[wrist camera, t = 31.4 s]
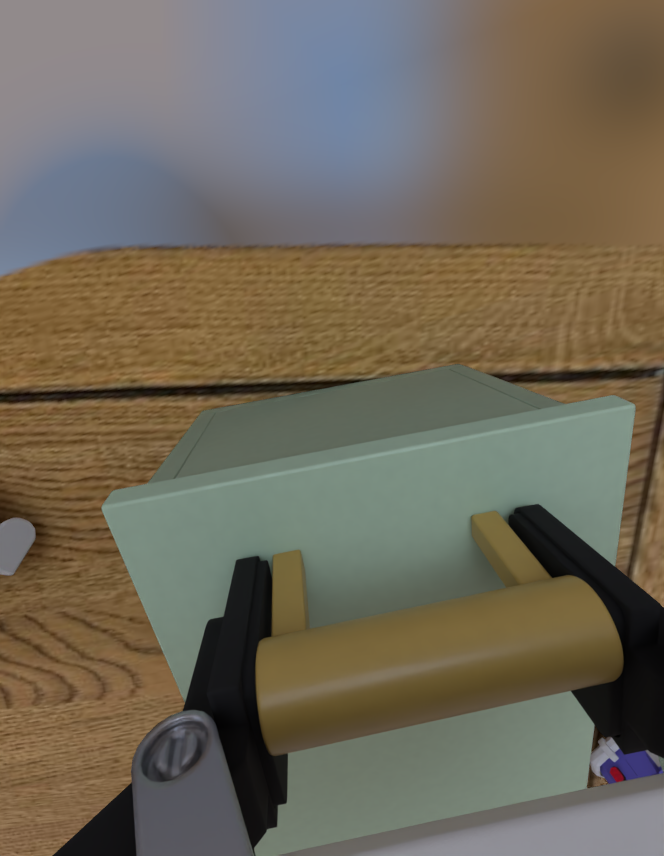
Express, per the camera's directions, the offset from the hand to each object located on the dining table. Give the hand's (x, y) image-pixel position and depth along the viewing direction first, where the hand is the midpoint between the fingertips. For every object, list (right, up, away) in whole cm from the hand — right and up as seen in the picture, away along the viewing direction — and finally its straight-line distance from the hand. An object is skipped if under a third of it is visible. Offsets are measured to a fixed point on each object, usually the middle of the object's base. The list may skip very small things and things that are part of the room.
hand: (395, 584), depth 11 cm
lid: (+1, -4, +3) cm, 5 cm away
